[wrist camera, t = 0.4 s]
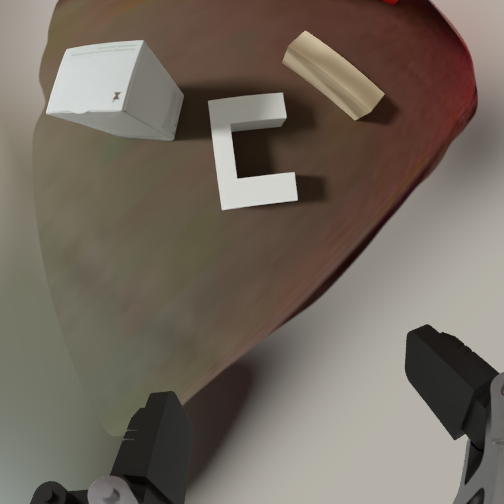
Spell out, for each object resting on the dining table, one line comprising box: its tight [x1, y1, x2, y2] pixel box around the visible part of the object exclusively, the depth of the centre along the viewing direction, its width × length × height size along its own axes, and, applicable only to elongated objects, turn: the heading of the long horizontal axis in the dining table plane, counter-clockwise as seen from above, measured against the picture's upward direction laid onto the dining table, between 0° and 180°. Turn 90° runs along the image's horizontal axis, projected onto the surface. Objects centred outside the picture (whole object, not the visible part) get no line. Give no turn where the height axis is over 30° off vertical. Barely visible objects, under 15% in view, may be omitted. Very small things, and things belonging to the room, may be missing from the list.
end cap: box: [208, 93, 298, 210], centre depth 30 cm, size 12×8×4 cm, turn 7°
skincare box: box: [46, 40, 184, 141], centre depth 23 cm, size 8×7×16 cm
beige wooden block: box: [282, 31, 384, 120], centre depth 28 cm, size 4×12×5 cm, turn 52°
